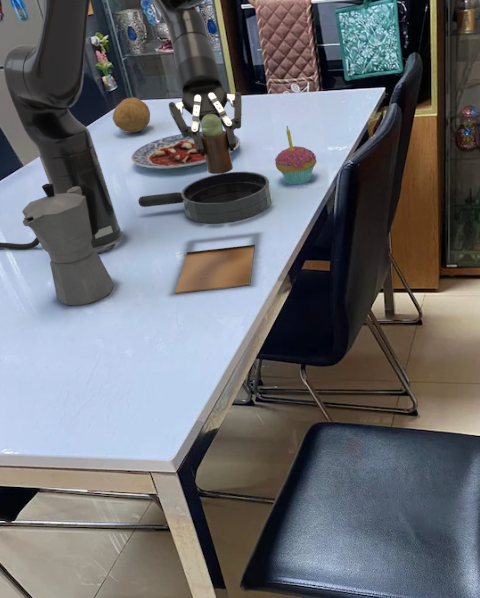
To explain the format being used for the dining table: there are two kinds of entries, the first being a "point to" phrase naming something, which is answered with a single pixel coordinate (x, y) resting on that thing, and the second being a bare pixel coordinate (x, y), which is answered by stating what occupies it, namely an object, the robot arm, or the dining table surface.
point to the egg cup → (215, 145)
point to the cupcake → (295, 163)
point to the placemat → (216, 269)
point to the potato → (131, 115)
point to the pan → (226, 197)
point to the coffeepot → (70, 243)
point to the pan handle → (160, 199)
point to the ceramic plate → (171, 153)
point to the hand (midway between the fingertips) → (217, 151)
